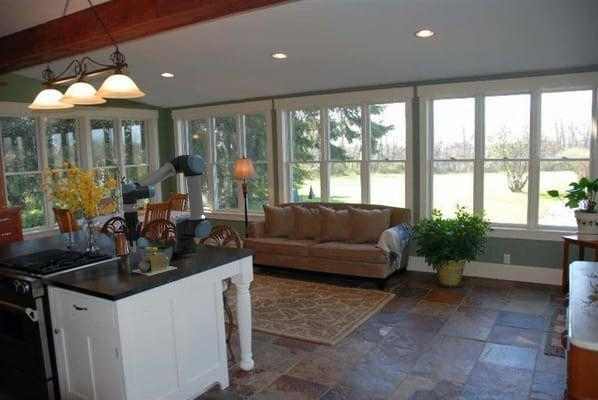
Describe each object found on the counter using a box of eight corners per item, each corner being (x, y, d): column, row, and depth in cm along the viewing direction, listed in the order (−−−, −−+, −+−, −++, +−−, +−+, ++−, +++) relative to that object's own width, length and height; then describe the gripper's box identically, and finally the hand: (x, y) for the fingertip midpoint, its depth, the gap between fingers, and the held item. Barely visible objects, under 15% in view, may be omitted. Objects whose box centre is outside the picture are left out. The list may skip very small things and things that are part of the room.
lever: (138, 249, 278) (138, 246, 278) (145, 247, 281) (144, 245, 281) (152, 251, 269) (152, 249, 269) (159, 250, 272) (158, 248, 272)
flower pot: (174, 260, 296) (173, 246, 294) (165, 264, 287) (164, 249, 286) (162, 260, 298) (161, 246, 297) (153, 263, 290) (152, 249, 289)
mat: (131, 272, 272) (131, 271, 272) (160, 264, 286) (160, 263, 286) (149, 276, 260) (149, 275, 260) (178, 268, 275) (178, 267, 275)
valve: (136, 272, 269) (134, 253, 268) (163, 265, 283) (162, 247, 282) (145, 274, 263) (143, 255, 262) (172, 267, 277) (171, 249, 276)
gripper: (123, 213, 263) (127, 255, 266) (144, 210, 273) (147, 250, 275) (116, 212, 268) (120, 253, 270) (137, 209, 277) (140, 249, 280)
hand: (134, 252), depth 273 cm, fingers closed
